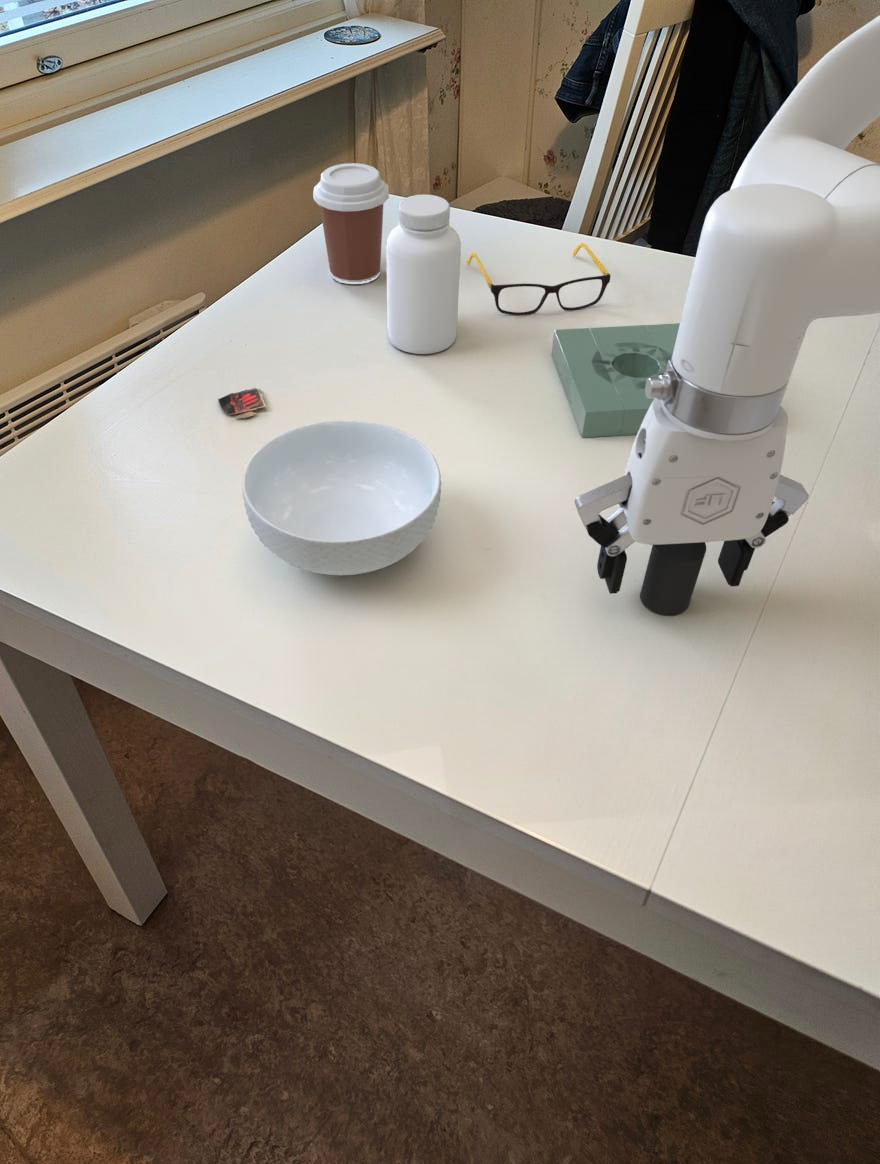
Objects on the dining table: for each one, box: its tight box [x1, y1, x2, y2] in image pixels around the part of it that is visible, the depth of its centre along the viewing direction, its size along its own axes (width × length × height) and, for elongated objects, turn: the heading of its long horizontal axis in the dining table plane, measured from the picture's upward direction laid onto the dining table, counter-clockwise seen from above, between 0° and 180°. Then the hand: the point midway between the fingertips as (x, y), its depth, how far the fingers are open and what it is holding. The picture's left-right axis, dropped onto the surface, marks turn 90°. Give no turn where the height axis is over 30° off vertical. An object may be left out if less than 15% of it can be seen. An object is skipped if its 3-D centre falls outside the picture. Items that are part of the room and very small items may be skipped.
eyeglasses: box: [466, 243, 611, 316], centre depth 110 cm, size 14×14×4 cm
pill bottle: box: [385, 194, 462, 355], centre depth 98 cm, size 8×8×15 cm
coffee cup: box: [312, 162, 390, 282], centre depth 110 cm, size 9×9×12 cm
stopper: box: [639, 542, 707, 617], centre depth 72 cm, size 4×4×6 cm
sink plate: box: [551, 322, 680, 439], centre depth 94 cm, size 18×16×3 cm
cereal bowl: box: [241, 419, 442, 576], centre depth 77 cm, size 17×17×7 cm
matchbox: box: [217, 387, 266, 420], centre depth 94 cm, size 5×5×1 cm
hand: (668, 578), depth 72 cm, fingers open, 9 cm apart
